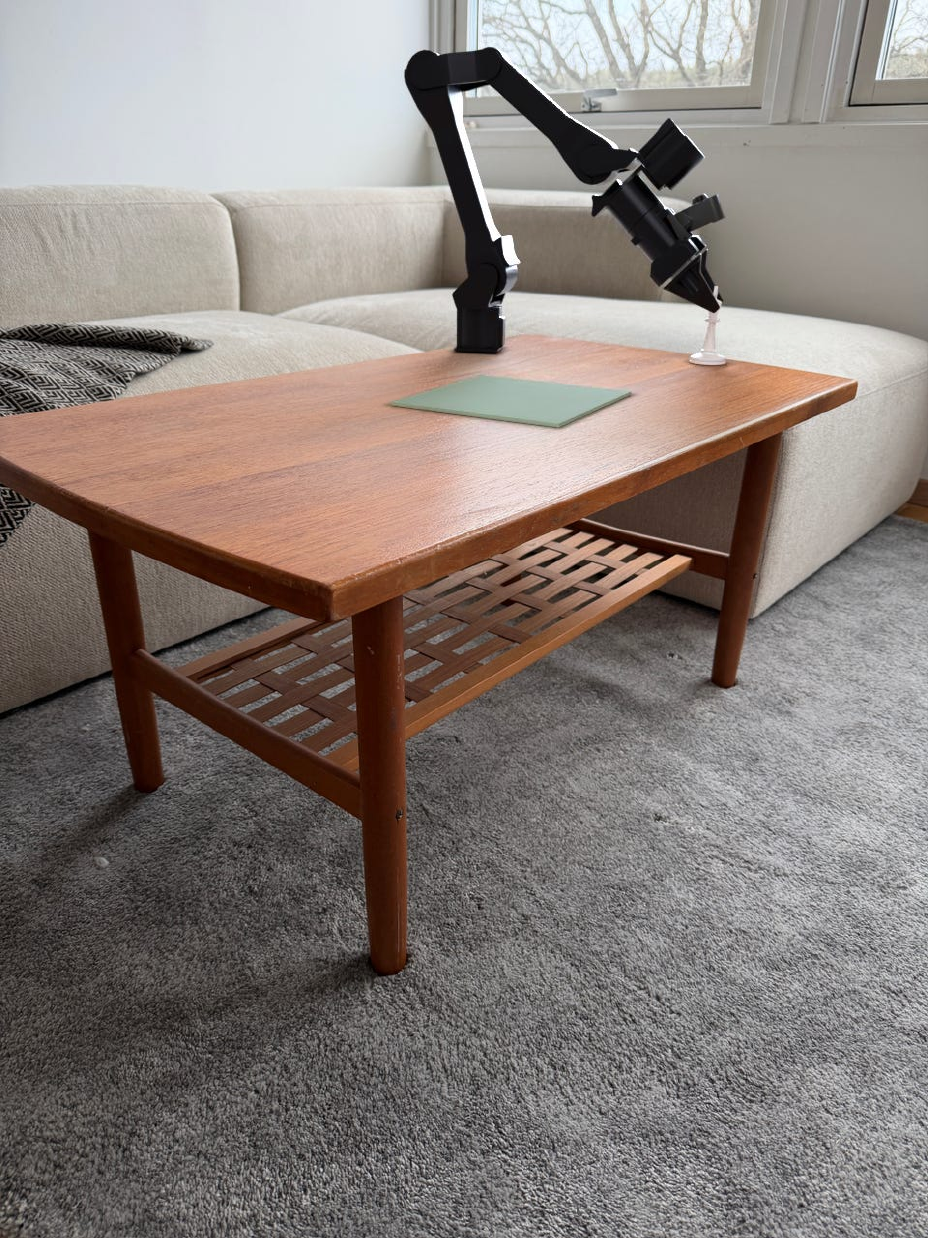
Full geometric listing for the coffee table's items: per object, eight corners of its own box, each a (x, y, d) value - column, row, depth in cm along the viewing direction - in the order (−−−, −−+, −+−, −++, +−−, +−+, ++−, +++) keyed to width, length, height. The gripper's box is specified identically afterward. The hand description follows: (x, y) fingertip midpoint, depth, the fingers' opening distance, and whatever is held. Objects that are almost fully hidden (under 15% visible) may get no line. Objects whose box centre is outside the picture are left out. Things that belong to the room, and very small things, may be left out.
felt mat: (390, 405, 99) (390, 401, 99) (480, 377, 115) (480, 374, 114) (558, 427, 90) (558, 423, 90) (631, 394, 106) (631, 391, 105)
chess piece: (727, 360, 129) (736, 285, 124) (723, 366, 124) (733, 288, 120) (691, 358, 130) (700, 284, 126) (687, 363, 126) (695, 286, 122)
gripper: (686, 167, 110) (768, 267, 112) (697, 172, 127) (769, 259, 128) (616, 237, 116) (696, 331, 117) (635, 233, 132) (705, 316, 134)
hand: (719, 307), depth 124 cm, fingers open, 9 cm apart
